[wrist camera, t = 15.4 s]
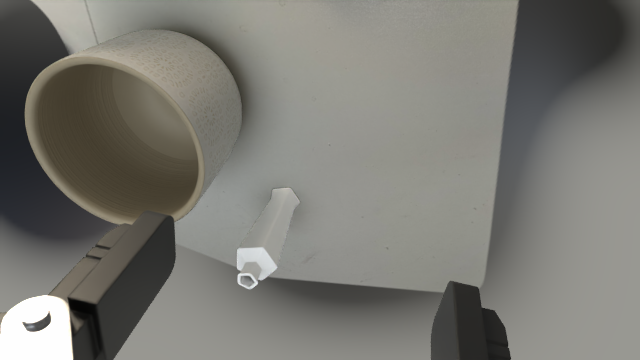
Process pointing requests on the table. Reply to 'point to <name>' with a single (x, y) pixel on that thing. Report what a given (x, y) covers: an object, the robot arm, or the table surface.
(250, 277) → the perfume bottle
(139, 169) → the planter
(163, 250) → the robot arm
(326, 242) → the table surface
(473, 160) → the table surface
